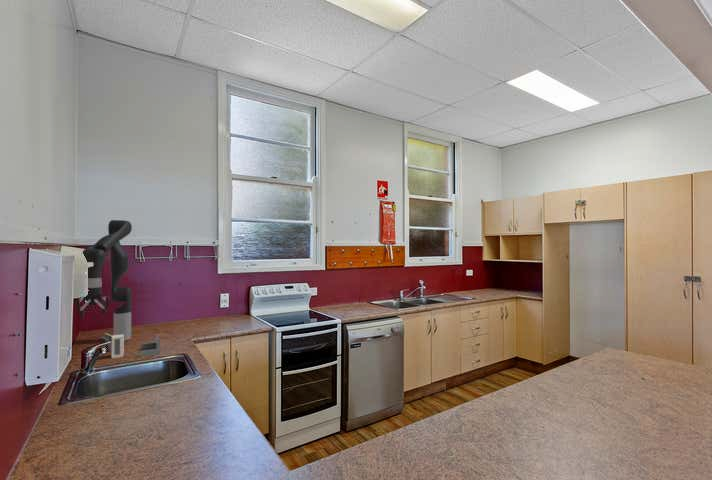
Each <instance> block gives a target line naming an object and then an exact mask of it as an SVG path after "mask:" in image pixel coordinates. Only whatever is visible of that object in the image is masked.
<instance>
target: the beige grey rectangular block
mask: <svg viewBox="0 0 712 480" xmlns="http://www.w3.org/2000/svg"><path fill="white" fill-rule="evenodd" d="M112 335H113V336H112V351H111V359H114V358H116V359H117V358H123V357H124V354H125V353H124V352H125V350H124V346H125V345H124V342H125V341H124V334H122V335H114V334H112Z"/></svg>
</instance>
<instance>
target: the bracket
mask: <svg viewBox="0 0 712 480" xmlns="http://www.w3.org/2000/svg"><path fill="white" fill-rule="evenodd" d="M160 338H161V337H160V332H159V333H156V336H155V341H153V342H147V343H141V344H140V354H139V357H140V358H142V357H148V356H154V355H155V356H156V355H160V348H161V347H160V343H161V342H160Z"/></svg>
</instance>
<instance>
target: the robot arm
mask: <svg viewBox="0 0 712 480" xmlns="http://www.w3.org/2000/svg"><path fill="white" fill-rule="evenodd" d="M107 228H108V229H107V230H108V234H107V235H104V236H103V237H100V239H99V240H97V242H95V243H94V244H92V245H89V246H88V247H86V248H84V250H82V252H83V254H84V256H85V258H86V260H87V262H86V263H94V264H93V265H92V266H87V267H88V290H89V291H88V295H87V296H86V297H84V296H83V297H77V298H76V300H75V310H76V311H79V316H80V317H81V319H82V318H83V319H84V317H85V310H84V309H85V308H86V307H87V306H89V307H90V306H97V305H98V306H99V307H100V308H101V317H104V315H105V314H106V309H108V308H110V300H111V301H112V302H113V303H118V302H119V303H121V302H124V304H122V305H120V306H117V307H115V308H113V335H122V334H124V342H125V341H129V340H131V339H132V299H133V289H132V287H131V286H119V282H120V280H121V278H122V276H123V275H124V274H125V273H126V271H127V269H128V268H129V266H130V265H129V255H128V253H127V251H126V250H125V248H124V247H123V245H122V244H121V243H120V241H122V240H123V239H124V238H126V237H128V236H129V235H130V234H131V232H132V229H133V226H132V223H131V221H128V220H121V219H120V220H119V219H112V220H110V221H109V222H108V226H107ZM109 251H110V276H111V278H110V279H111V280H110V281H111V282H110V297H109V296H108V295H107V296H103V295H102V293H103V291H102V290H103V289H102V288H103V280H102V269H103V267H104V263H105V260H106V256H107V255H106V253H108V252H109ZM85 300H86V301H87V303H86V302H85ZM102 300H103V301H105V305H104V303H102V302H101V301H102ZM82 301H83V303H84V304H83V305H82V306H80V303H81V302H82Z"/></svg>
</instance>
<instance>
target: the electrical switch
mask: <svg viewBox="0 0 712 480" xmlns="http://www.w3.org/2000/svg"><path fill="white" fill-rule="evenodd" d="M113 335H114V334H111V333H110V334H109V333H104V335H102V336H100V337H99V340H100V342H101V344H102V343H105V342H109V341H111V343H110V344H107V345H106V348H107V349H108V352H111V353H112V336H113ZM106 348H105V349H106Z"/></svg>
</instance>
